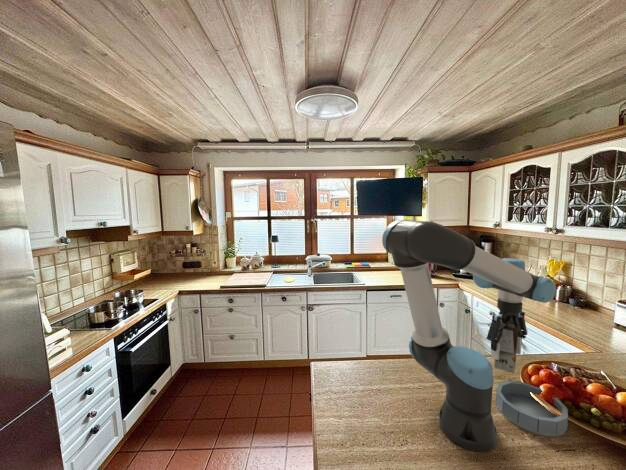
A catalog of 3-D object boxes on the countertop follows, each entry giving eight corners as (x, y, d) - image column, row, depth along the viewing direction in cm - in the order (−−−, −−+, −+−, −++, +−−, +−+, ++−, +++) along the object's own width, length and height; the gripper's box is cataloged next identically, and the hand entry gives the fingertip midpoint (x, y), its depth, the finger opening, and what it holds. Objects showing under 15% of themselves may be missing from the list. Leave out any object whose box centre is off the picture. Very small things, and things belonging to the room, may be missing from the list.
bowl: (541, 444, 74) (542, 428, 74) (483, 401, 91) (484, 387, 90) (580, 427, 80) (581, 411, 79) (519, 389, 96) (520, 376, 96)
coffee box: (514, 374, 96) (518, 332, 94) (493, 367, 100) (496, 327, 99) (515, 362, 103) (519, 323, 102) (496, 357, 107) (498, 319, 106)
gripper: (496, 306, 92) (492, 366, 94) (542, 299, 99) (537, 355, 101) (477, 299, 99) (474, 355, 101) (521, 293, 106) (517, 345, 108)
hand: (505, 355), depth 101 cm, fingers closed on coffee box, 11 cm apart
